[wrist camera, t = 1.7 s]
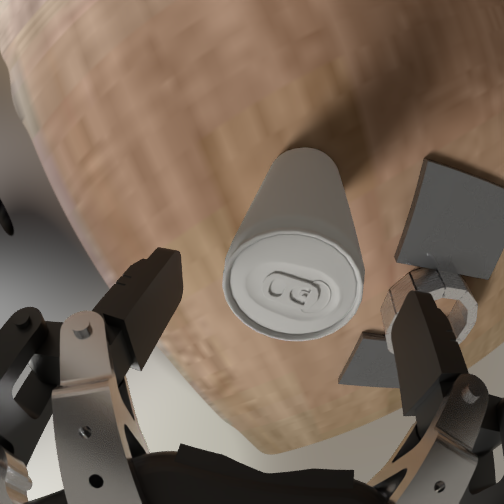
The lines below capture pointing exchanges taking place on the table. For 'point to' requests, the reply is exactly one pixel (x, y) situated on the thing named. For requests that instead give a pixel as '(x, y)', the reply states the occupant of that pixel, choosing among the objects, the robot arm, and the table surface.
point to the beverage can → (296, 252)
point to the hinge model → (436, 261)
